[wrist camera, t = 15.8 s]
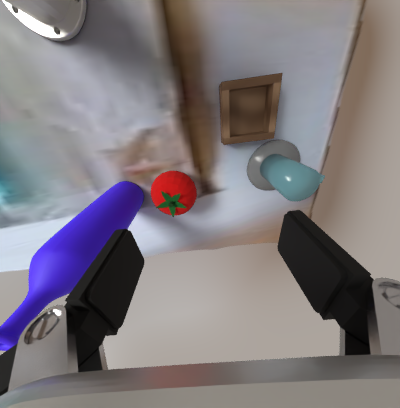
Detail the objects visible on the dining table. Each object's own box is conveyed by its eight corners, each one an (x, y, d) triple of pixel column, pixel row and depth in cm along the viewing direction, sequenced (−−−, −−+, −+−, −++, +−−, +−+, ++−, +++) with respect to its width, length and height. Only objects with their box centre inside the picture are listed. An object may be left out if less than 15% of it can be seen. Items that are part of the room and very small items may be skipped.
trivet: (248, 143, 33) (249, 144, 32) (302, 136, 32) (305, 136, 32) (245, 191, 39) (247, 192, 38) (291, 185, 39) (293, 187, 38)
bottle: (143, 181, 37) (23, 327, 11) (146, 208, 41) (63, 360, 16) (110, 178, 37) (-97, 325, 11) (116, 206, 41) (-22, 360, 15)
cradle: (219, 85, 28) (221, 81, 25) (272, 77, 27) (282, 72, 24) (221, 142, 33) (223, 144, 30) (266, 136, 32) (273, 138, 29)
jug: (256, 178, 36) (277, 200, 27) (263, 152, 33) (290, 167, 24) (296, 180, 37) (330, 203, 27) (307, 155, 34) (350, 170, 24)
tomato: (170, 208, 41) (164, 232, 33) (147, 177, 37) (132, 195, 28) (203, 192, 39) (205, 214, 31) (183, 157, 34) (179, 171, 26)
